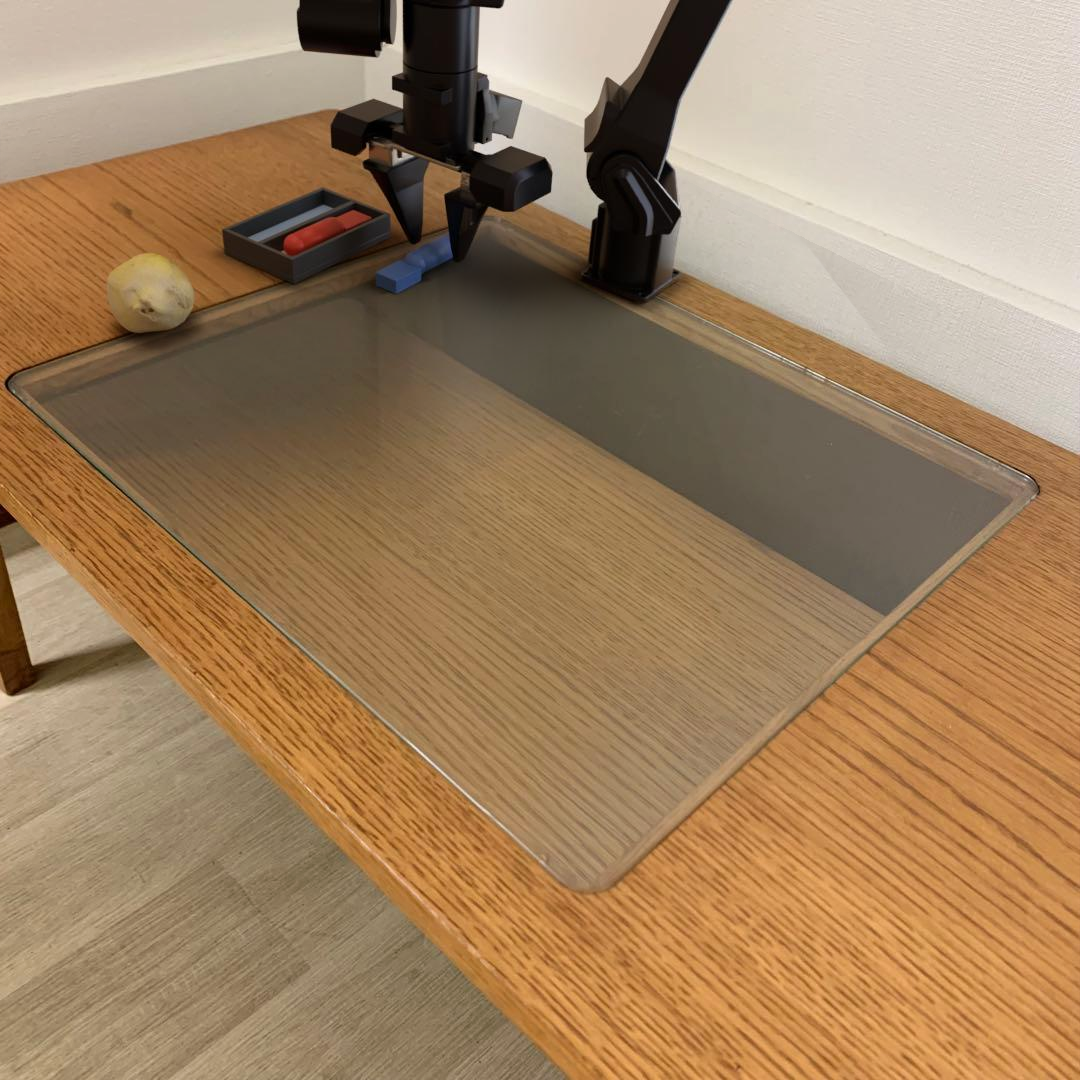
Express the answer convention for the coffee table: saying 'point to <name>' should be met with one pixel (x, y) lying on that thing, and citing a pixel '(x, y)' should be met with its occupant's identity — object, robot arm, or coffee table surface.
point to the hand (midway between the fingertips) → (437, 251)
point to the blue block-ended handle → (414, 265)
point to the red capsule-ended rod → (322, 232)
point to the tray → (268, 230)
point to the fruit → (149, 294)
